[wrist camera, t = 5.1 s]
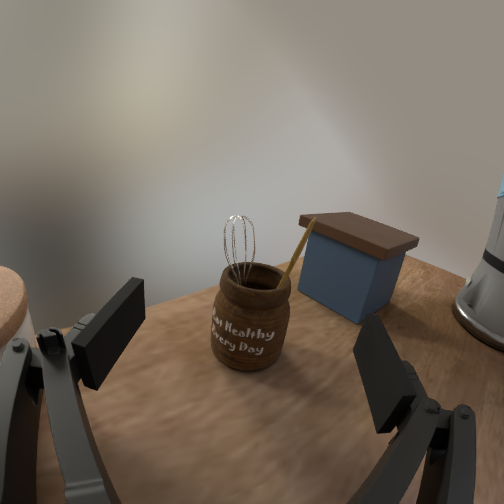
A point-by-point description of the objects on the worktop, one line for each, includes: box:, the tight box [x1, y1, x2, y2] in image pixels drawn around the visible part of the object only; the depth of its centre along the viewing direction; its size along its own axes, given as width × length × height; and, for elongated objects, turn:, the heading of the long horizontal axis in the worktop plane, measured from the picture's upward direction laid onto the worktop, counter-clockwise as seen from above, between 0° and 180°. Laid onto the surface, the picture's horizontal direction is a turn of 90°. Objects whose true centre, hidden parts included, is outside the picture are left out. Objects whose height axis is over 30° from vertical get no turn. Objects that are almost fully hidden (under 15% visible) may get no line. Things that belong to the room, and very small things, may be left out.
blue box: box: [297, 212, 419, 324], centre depth 34 cm, size 11×11×9 cm
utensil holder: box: [211, 215, 317, 371], centre depth 21 cm, size 6×6×12 cm
